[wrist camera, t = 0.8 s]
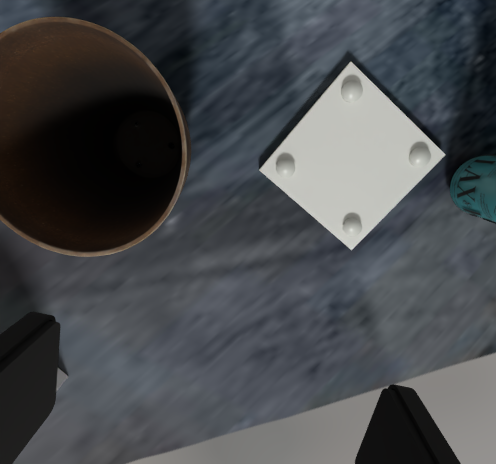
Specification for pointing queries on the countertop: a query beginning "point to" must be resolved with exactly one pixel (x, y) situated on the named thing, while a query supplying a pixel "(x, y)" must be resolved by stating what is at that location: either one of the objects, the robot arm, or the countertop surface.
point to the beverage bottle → (476, 187)
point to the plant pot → (85, 138)
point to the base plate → (351, 157)
